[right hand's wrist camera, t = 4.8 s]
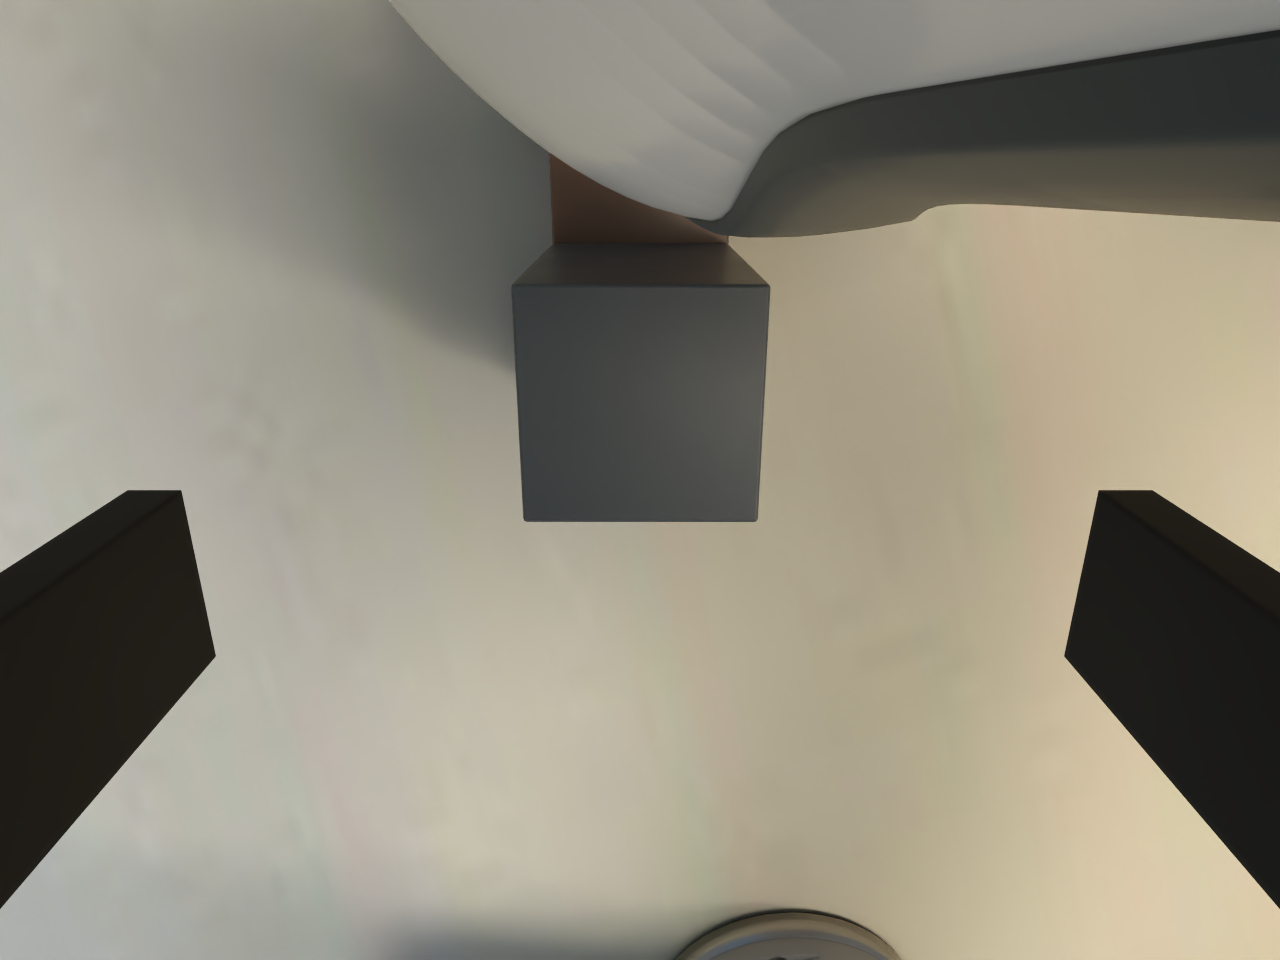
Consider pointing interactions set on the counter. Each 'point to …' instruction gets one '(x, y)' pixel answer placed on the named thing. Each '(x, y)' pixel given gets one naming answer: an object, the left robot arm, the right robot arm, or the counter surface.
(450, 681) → the counter surface
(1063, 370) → the counter surface
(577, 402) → the cap block
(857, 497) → the counter surface
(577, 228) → the walnut beam
